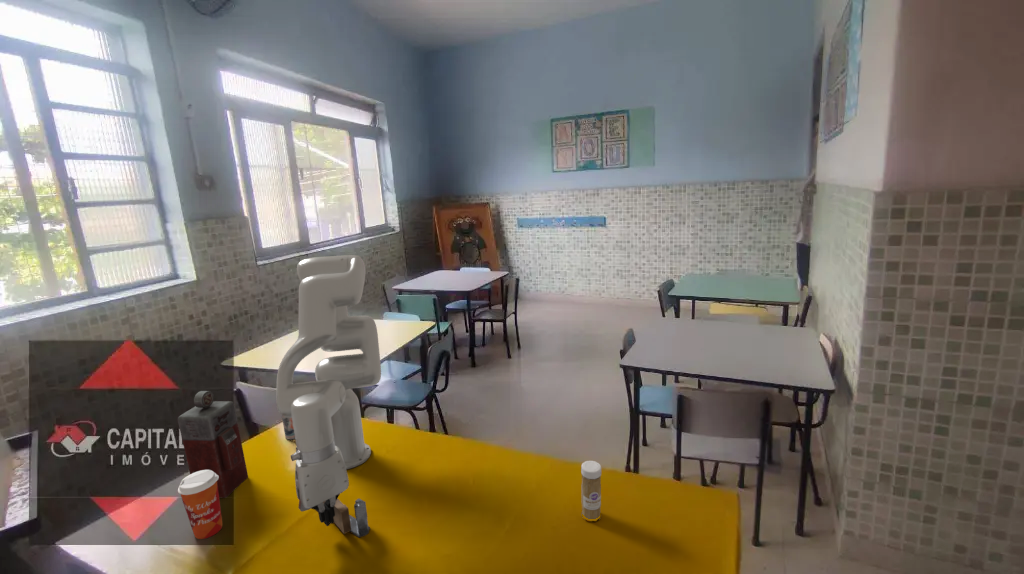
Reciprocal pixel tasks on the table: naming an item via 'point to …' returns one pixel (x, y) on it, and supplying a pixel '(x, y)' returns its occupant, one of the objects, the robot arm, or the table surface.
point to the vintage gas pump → (214, 441)
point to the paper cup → (202, 503)
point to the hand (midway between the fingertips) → (327, 521)
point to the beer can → (288, 427)
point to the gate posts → (359, 519)
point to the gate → (342, 516)
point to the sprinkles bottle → (591, 489)
